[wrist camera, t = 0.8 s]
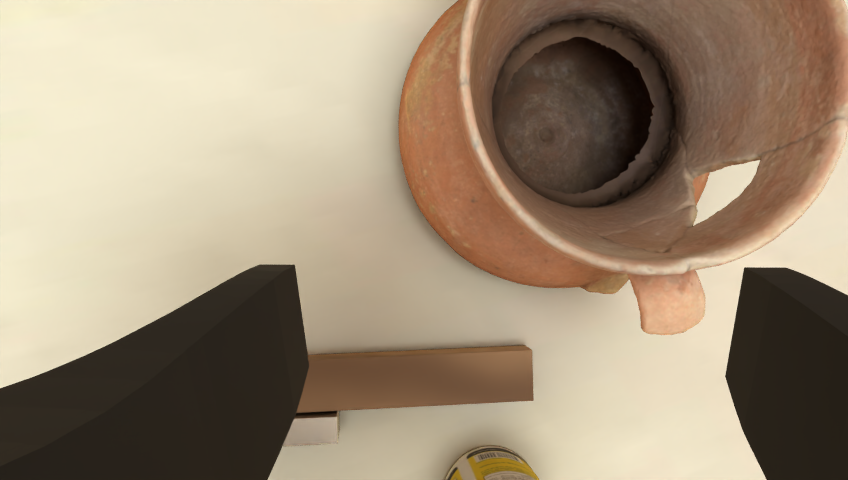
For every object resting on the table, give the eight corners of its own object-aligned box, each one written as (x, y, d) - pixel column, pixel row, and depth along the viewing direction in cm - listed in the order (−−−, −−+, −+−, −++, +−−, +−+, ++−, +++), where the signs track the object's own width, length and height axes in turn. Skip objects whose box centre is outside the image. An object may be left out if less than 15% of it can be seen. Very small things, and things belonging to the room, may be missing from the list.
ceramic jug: (712, 268, 34) (959, 289, 20) (439, 338, 33) (494, 413, 19) (632, -76, 34) (824, -306, 19) (353, -18, 32) (342, -217, 18)
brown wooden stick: (526, 393, 33) (533, 400, 32) (198, 410, 32) (189, 418, 30) (524, 345, 33) (531, 350, 32) (196, 360, 32) (188, 365, 30)
